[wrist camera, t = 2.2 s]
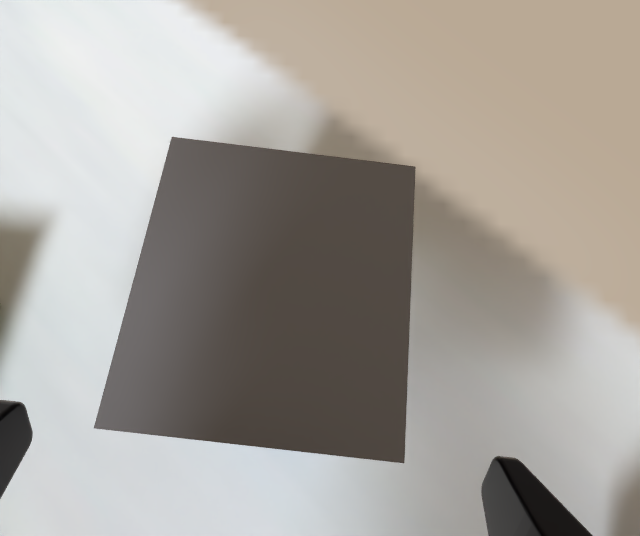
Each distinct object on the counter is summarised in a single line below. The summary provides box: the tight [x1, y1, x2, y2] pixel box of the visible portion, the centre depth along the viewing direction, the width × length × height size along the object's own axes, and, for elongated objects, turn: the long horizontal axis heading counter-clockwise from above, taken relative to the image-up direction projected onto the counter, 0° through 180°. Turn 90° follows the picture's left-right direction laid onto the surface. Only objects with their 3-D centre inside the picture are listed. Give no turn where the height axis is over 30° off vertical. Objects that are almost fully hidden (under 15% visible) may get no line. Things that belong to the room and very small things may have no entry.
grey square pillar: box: [94, 137, 415, 463], centre depth 12 cm, size 5×4×12 cm
